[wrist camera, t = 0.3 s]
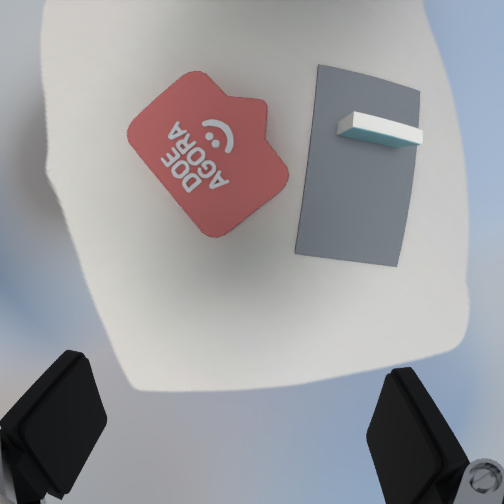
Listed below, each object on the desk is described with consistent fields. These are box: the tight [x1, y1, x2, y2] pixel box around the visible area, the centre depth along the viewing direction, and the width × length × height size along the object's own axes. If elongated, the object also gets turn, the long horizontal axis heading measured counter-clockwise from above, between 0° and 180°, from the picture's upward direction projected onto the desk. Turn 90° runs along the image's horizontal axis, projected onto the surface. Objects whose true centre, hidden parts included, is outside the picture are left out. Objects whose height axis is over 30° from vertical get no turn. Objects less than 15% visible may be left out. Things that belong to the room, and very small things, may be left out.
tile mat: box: [295, 65, 420, 267], centre depth 35 cm, size 24×14×1 cm, turn 173°
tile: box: [337, 111, 423, 148], centre depth 30 cm, size 2×8×7 cm, turn 83°
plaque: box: [127, 71, 289, 237], centre depth 34 cm, size 18×4×15 cm
